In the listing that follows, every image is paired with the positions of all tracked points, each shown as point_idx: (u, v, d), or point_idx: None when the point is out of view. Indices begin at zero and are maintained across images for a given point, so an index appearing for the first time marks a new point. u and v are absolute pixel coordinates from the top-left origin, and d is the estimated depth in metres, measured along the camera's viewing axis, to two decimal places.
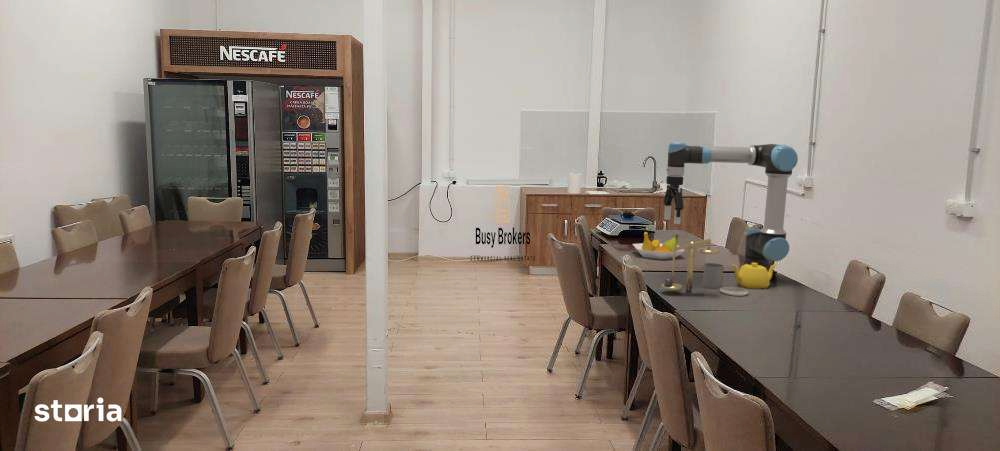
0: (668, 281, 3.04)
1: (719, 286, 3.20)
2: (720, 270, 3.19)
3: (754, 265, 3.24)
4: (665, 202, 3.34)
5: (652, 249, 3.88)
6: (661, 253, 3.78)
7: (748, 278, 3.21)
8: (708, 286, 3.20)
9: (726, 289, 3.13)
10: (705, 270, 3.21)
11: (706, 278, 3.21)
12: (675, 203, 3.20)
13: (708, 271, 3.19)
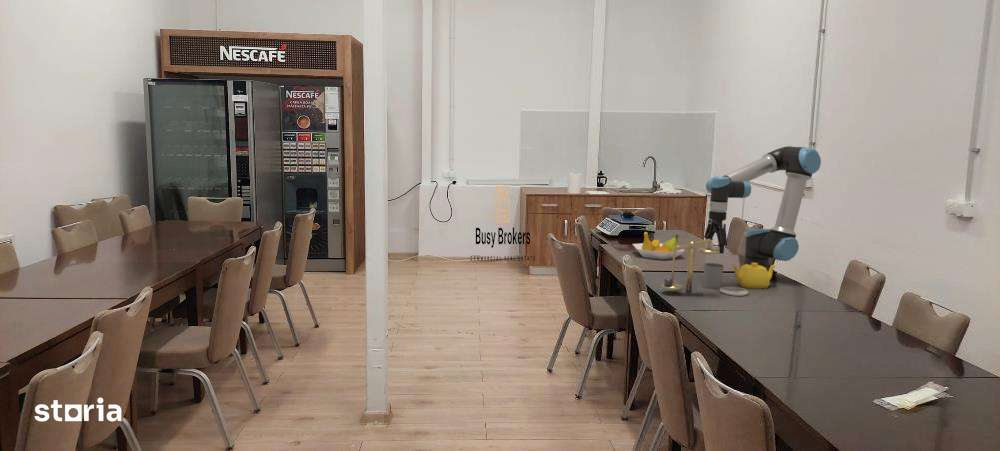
0: (668, 281, 3.04)
1: (719, 286, 3.20)
2: (720, 270, 3.19)
3: (754, 265, 3.24)
4: (706, 237, 3.27)
5: (652, 249, 3.88)
6: (661, 253, 3.78)
7: (748, 278, 3.21)
8: (708, 286, 3.20)
9: (726, 289, 3.13)
10: (705, 270, 3.21)
11: (706, 278, 3.21)
12: (718, 239, 3.13)
13: (708, 271, 3.19)
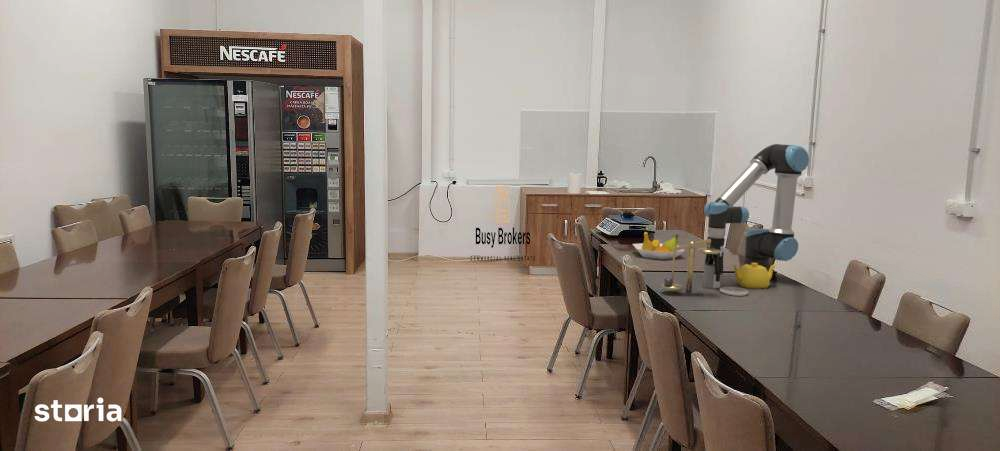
0: (668, 281, 3.04)
1: None
2: None
3: (754, 265, 3.24)
4: None
5: (652, 249, 3.88)
6: (661, 253, 3.78)
7: (748, 278, 3.21)
8: (708, 286, 3.20)
9: (726, 289, 3.13)
10: (705, 270, 3.21)
11: (706, 278, 3.21)
12: (715, 267, 3.17)
13: (708, 271, 3.19)
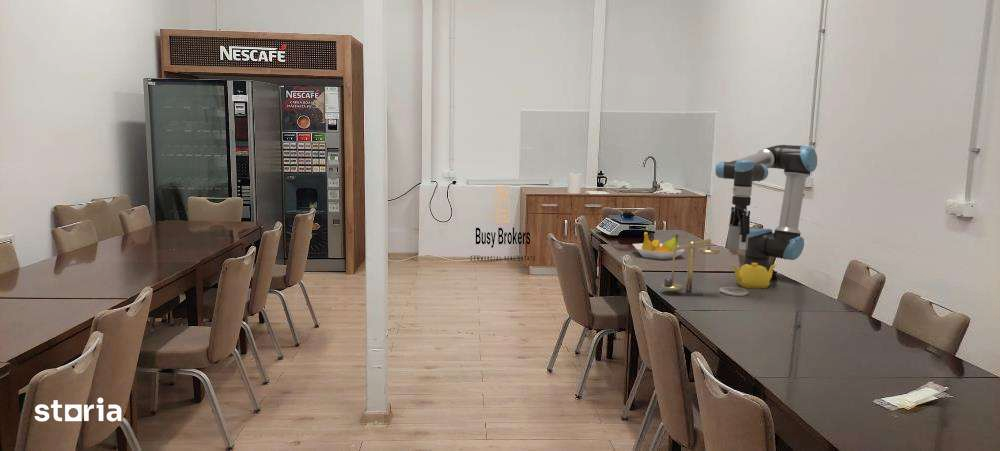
0: (668, 281, 3.04)
1: None
2: None
3: (754, 265, 3.24)
4: None
5: (652, 249, 3.88)
6: (661, 253, 3.78)
7: (748, 278, 3.21)
8: (733, 247, 3.06)
9: (726, 289, 3.13)
10: (730, 231, 3.07)
11: (731, 239, 3.06)
12: (741, 227, 3.03)
13: (733, 231, 3.05)
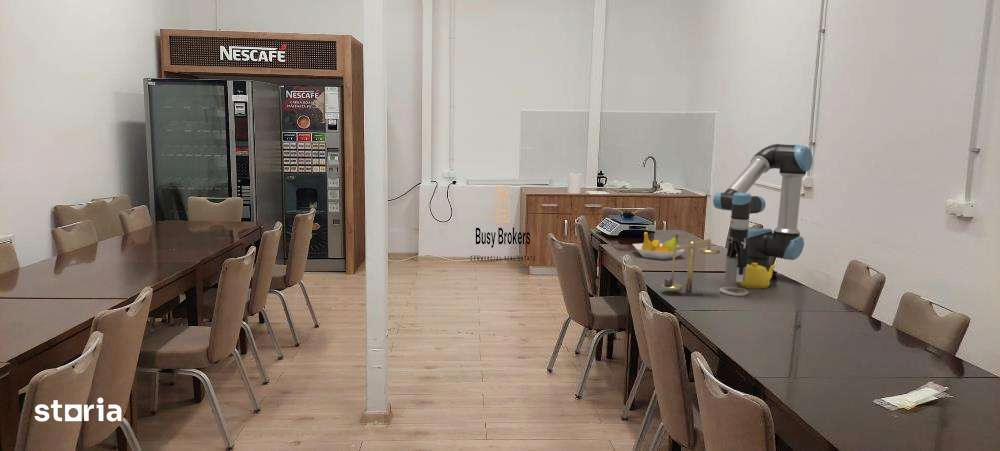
0: (668, 281, 3.04)
1: None
2: None
3: (754, 265, 3.24)
4: None
5: (652, 249, 3.88)
6: (661, 253, 3.78)
7: (748, 278, 3.21)
8: (730, 279, 3.08)
9: (726, 289, 3.13)
10: (727, 263, 3.09)
11: (728, 271, 3.08)
12: (738, 259, 3.05)
13: (731, 263, 3.07)
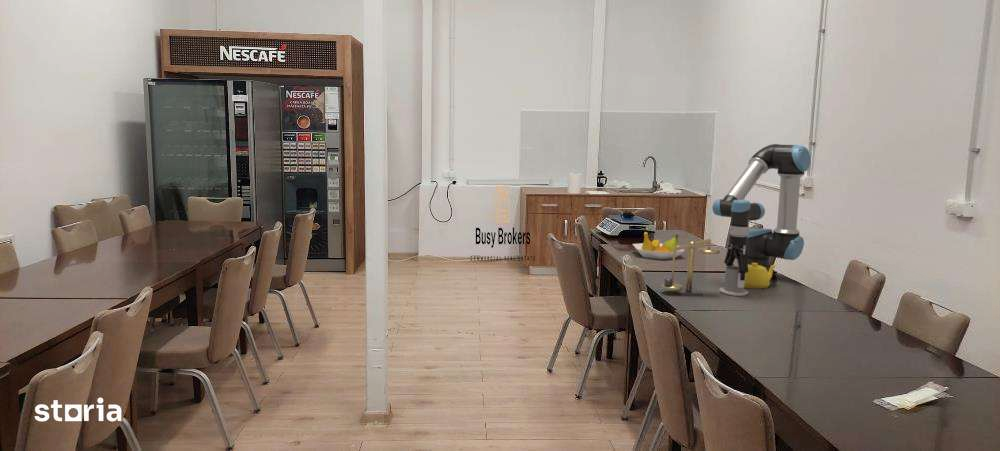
0: (668, 281, 3.04)
1: (741, 290, 3.08)
2: None
3: (754, 265, 3.24)
4: (726, 262, 3.17)
5: (652, 249, 3.88)
6: (661, 253, 3.78)
7: (748, 278, 3.21)
8: (730, 290, 3.09)
9: None
10: (727, 273, 3.10)
11: (728, 282, 3.09)
12: (739, 265, 3.04)
13: (730, 274, 3.08)
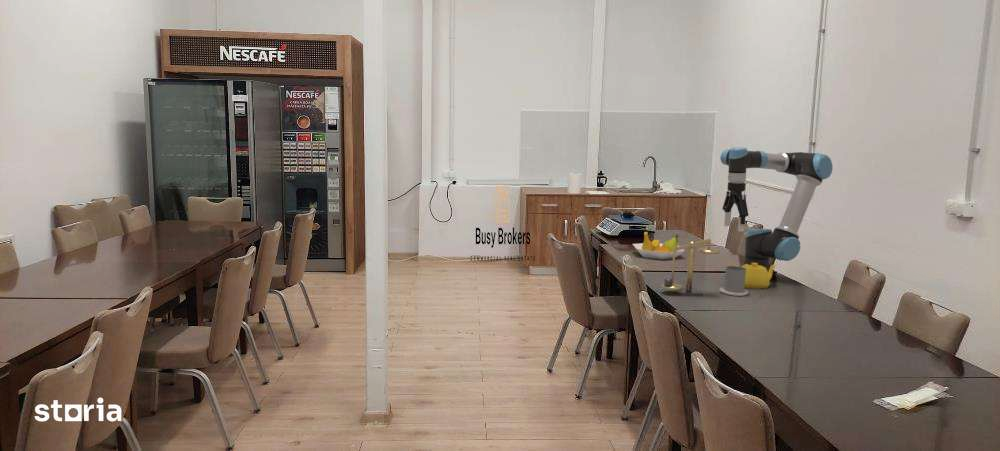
0: (668, 281, 3.04)
1: (741, 290, 3.08)
2: (742, 273, 3.07)
3: (754, 265, 3.24)
4: (725, 208, 3.26)
5: (652, 249, 3.88)
6: (661, 253, 3.78)
7: (748, 278, 3.21)
8: (730, 290, 3.09)
9: None
10: (727, 273, 3.10)
11: (728, 282, 3.09)
12: (739, 210, 3.13)
13: (730, 274, 3.08)
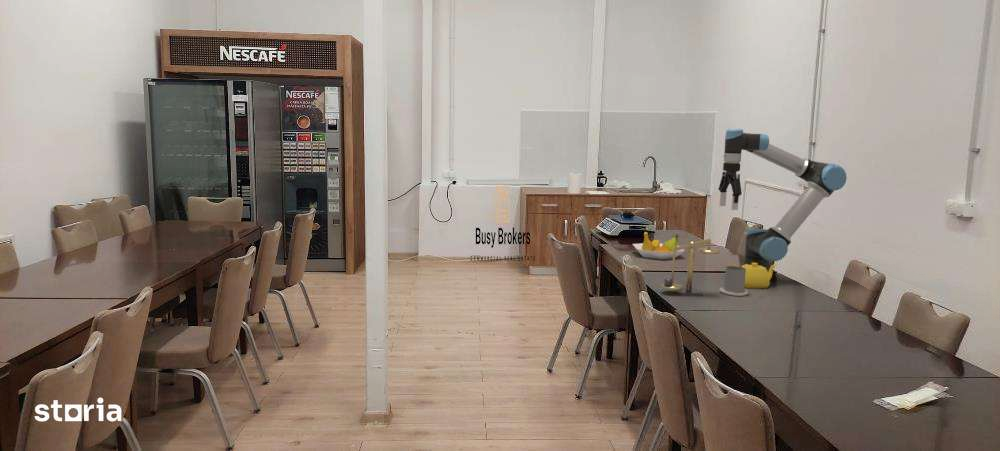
0: (668, 281, 3.04)
1: (741, 290, 3.08)
2: (742, 273, 3.07)
3: (754, 265, 3.24)
4: (720, 189, 3.37)
5: (652, 249, 3.88)
6: (661, 253, 3.78)
7: (748, 278, 3.21)
8: (730, 290, 3.09)
9: None
10: (727, 273, 3.10)
11: (728, 282, 3.09)
12: (733, 189, 3.23)
13: (730, 274, 3.08)
